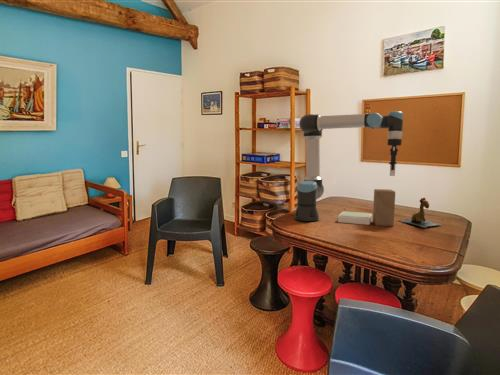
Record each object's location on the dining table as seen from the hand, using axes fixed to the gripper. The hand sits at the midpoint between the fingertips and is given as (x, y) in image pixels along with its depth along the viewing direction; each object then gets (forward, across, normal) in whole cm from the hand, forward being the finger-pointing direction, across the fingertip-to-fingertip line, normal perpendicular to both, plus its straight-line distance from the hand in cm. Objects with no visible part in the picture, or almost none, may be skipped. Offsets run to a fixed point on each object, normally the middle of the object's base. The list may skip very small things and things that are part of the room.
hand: (392, 175), depth 199 cm
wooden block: (+29, -5, +3) cm, 29 cm away
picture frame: (+29, -2, +19) cm, 35 cm away
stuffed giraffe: (+29, +8, -16) cm, 34 cm away
